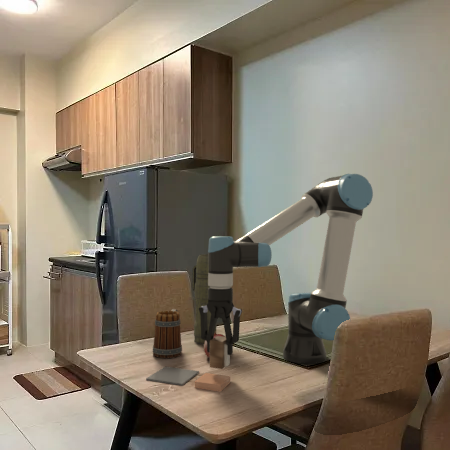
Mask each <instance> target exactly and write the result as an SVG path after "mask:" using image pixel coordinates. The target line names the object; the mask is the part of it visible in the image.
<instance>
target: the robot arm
mask: <svg viewBox="0 0 450 450" xmlns="http://www.w3.org/2000/svg"><path fill="white" fill-rule="evenodd" d="M373 193H374V192H373V187H372V184H371V183H370V182H369V180H368V179H367V178H366V177H365V176H363V175H362V174H359V173H345V174H344V175H338V176H332V177H329V178H327V179H324V180H323V181H320V182H319V183H318V184H317V185H315V186H314V187H312V188H311V189H309V190H308V191H307V192H304V194H302V195H301V198H300V200H298V201H296V202H294V203H293V204H292V205H290V206H288V207H286V208H285V209H283V210H282V211H280V212H279V213H278V214H275V215H274V216H273V217H271V218H270V219H268V220H266V221H264V222H263V223H261V224H260V225H259V226H257V227H255V228H254V229H253V230H251V231H249V232H248V233H247V234H244V235H243V236H242V237H240V238H238V239H236V240H234V237H233V236H228V235H227V236H222V235H219V236H218V235H217V236H216V235H215V236H211V237H210V238H209V239H208V249H207V254H208V263H209V270H208V286H210V287H209V288H208V303H207V305H206V306H202V307H199V312H200V315H201V339H203V340H206V341H207V352H209V353H210V340H212V339H213V337H214V332H215V328H216V329H217V322H218V319H221V320H222V323H223V329H224V334H225V335H224V336H225V337H226V341H227V343H226V344H225V345H224V366H225V367H226V368H227V367H228V366H229V365H230V364H231V363H230V362H231V357H230V356H231V355H233V350H234V349H233V346H234V344H236V343H238V341H239V340H240V325H241V324H240V323H241V315H242V313H243V310H242V308H237V307H235V305H234V302H233V300H234V298H233V297H234V293H233V291H234V289H233V285H234V268H250V267H251V268H261V267H268V266H269V265H270V263H271V261H272V249H271V245H273V244H274V243H275V242H277V241H278V240H280V239H281V238H284V237H286V235H288V234H289V233H291V232H292V231H294V230H295V229H296V228H297V229H298V227H300V226H301V225H303V224H305V223H306V222H307V221H309V220H310V219H312V218H319V217H321V216H322V215H324V214H327V216H328V218H329V220H328V223H327V230H326V236H325V240H324V247H323V252H322V257H321V263H320V269H319V272H318V273H319V274H318V278H317V284H316V288H315V289H314V290H313V291H311V292H293V293H290V294H289V296H288V302H287V305H288V310H287V312H288V318H287V319H288V320H287V321H288V322H287V324H288V327H287V328H288V329H287V330H288V331H287V332H288V333H287V334H288V335H287V338H286V341H285V342H284V346H283V350H282V357H283V359H284V360H287V361H289V362H292V363H295V364H296V363H297V364H304V365H305V364H306V365H310V364H311V365H312V364H314V365H315V364H321V363H324V362H325V361H327V351H326V350H327V349H326V347H325V344H324V340H326V341H335V340H334V335H335V331H336V329H337V327H338V326H339V325H340V324H341V323H342V322H344V321H346V320H349V319H350V320H351V317H350V314H349V312H348V310H347V309H346V307H347V302H348V300H347V298H346V296H344V291H345V287H346V286H345V285H346V279H347V274H348V269H349V263H350V258H351V257H350V256H351V252H352V246H353V242H354V236H355V231H356V224H357V222H358V221H360V220H361V219H362V218H363V213H364V210H365V208H367V207H368V206H370V205H371V203H372V200H373V196H374V194H373ZM208 310H209V311H210V313H211V318H210V325H209V330H208V322H207V312H208ZM231 313H232V314H233V319H232V321H233V323H232V324H231V318H230V317H231V316H230V314H231ZM231 325H232V326H231ZM225 367H224V368H225Z"/></svg>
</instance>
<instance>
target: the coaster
mask: <svg viewBox="0 0 450 450" xmlns="http://www.w3.org/2000/svg"><path fill="white" fill-rule="evenodd" d="M199 373H200V371H199V370H193V369H187V368H181V367H174V366H173V367H171V366H164V367H163V368H159V370H157V371H156V372H153V373H152V374H151V375H149V376H147V377H146V381H151V382H156V383H157V382H158V383H162V384H163V383H165V384H171V385H176V386H184V385H185V384H186V383H188V382H189V381H190V380H192V379H193V378H194V377H195V376H197V375H198V374H199Z"/></svg>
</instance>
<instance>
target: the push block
mask: <svg viewBox="0 0 450 450" xmlns="http://www.w3.org/2000/svg"><path fill="white" fill-rule="evenodd" d="M226 343H227V341H226V336H225V337H223V336H217V337H215V338H213V339H212V340H210V358H209V368H210V369H219V370H220V369H221V370H223V369H224V368H225V366H224V345H225V344H226Z"/></svg>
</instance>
